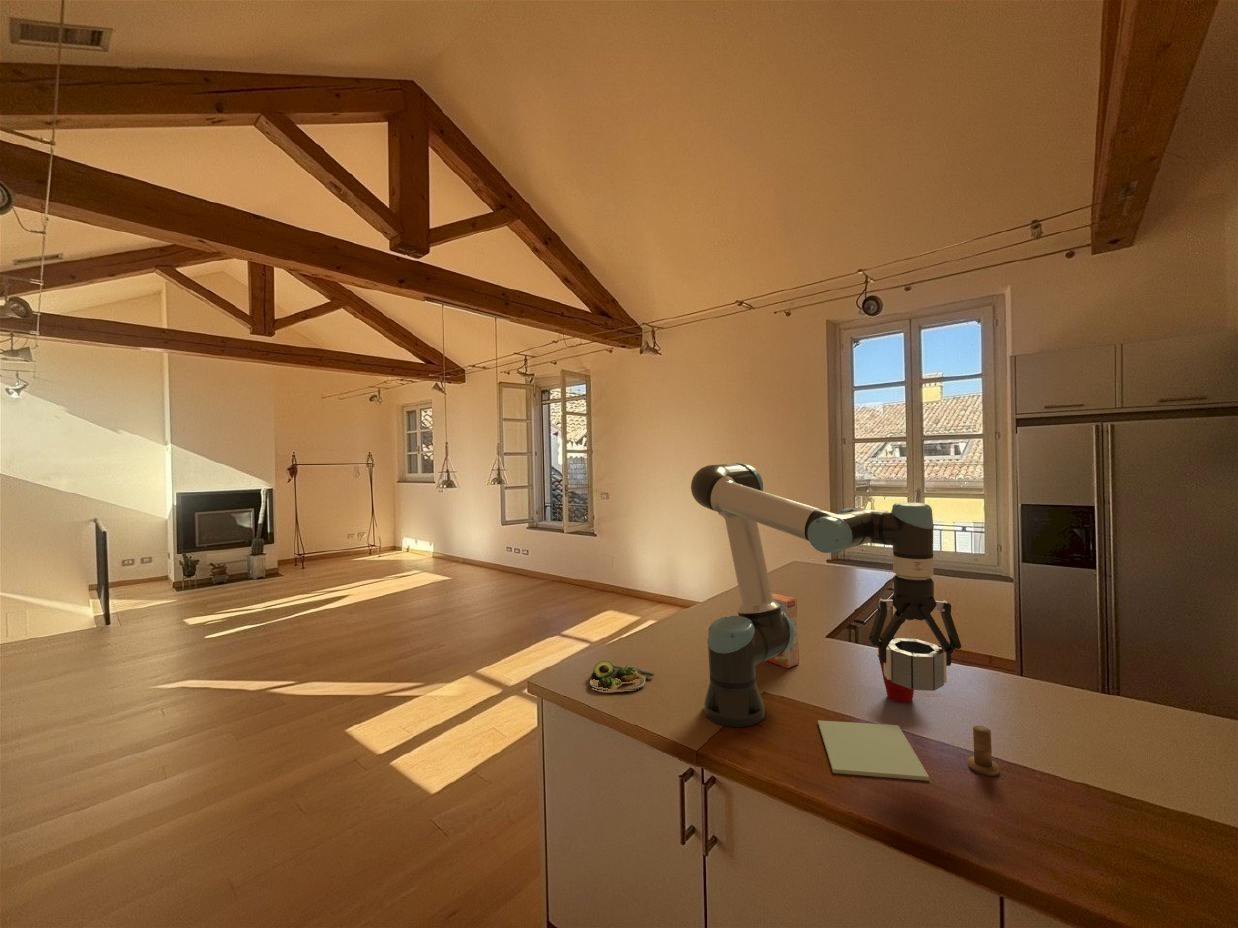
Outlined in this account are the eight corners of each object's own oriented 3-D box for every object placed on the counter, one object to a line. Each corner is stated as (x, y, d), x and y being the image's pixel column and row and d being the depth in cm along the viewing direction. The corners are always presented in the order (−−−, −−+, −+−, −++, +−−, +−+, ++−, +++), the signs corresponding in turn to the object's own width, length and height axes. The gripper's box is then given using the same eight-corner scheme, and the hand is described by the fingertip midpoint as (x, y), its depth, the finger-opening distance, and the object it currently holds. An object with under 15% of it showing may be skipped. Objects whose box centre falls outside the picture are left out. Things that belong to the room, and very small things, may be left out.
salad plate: (654, 668, 165) (654, 654, 165) (654, 694, 147) (654, 678, 147) (594, 670, 166) (593, 655, 166) (587, 695, 149) (586, 679, 148)
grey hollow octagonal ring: (896, 688, 108) (896, 655, 107) (882, 668, 118) (882, 637, 117) (950, 691, 106) (949, 657, 105) (931, 670, 116) (930, 639, 115)
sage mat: (833, 772, 107) (832, 768, 107) (818, 723, 127) (817, 720, 127) (929, 780, 104) (929, 776, 103) (898, 728, 123) (898, 725, 123)
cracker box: (800, 664, 162) (797, 597, 162) (787, 669, 159) (784, 601, 159) (765, 651, 174) (762, 589, 174) (752, 656, 171) (749, 592, 171)
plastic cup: (911, 712, 130) (909, 665, 130) (869, 697, 139) (867, 652, 139) (932, 699, 136) (930, 653, 136) (890, 685, 145) (889, 643, 145)
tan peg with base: (974, 774, 105) (973, 734, 105) (963, 759, 110) (962, 721, 110) (1004, 776, 104) (1002, 736, 104) (991, 761, 109) (990, 723, 109)
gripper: (860, 578, 109) (862, 683, 110) (980, 581, 105) (981, 689, 106) (852, 570, 117) (853, 668, 118) (964, 572, 112) (965, 673, 113)
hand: (914, 678), depth 112 cm, fingers closed on grey hollow octagonal ring, 10 cm apart
